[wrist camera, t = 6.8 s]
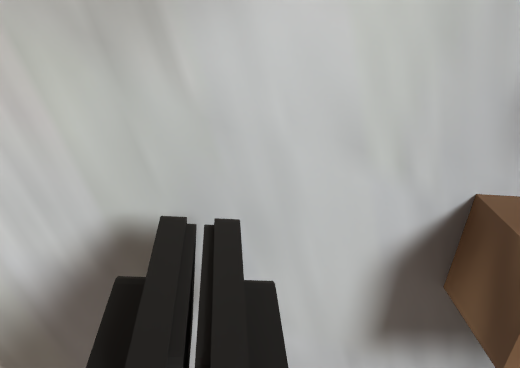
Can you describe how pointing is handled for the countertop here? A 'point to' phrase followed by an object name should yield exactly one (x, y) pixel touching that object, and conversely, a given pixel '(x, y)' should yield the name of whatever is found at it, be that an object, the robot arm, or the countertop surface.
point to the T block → (490, 277)
